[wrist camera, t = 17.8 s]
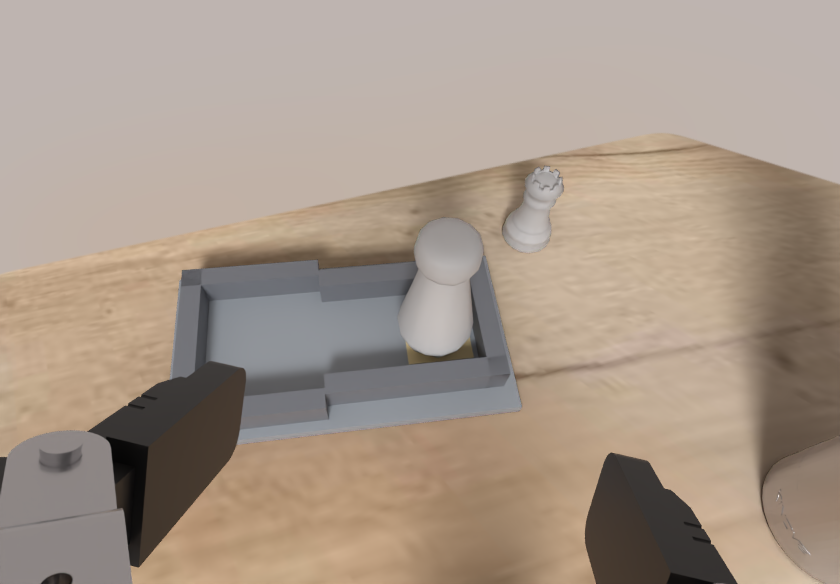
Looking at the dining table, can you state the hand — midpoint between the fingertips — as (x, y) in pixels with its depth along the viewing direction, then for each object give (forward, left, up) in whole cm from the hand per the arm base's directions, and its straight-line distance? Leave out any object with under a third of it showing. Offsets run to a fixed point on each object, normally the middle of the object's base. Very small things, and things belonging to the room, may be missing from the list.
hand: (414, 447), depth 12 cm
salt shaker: (-5, -16, -28) cm, 32 cm away
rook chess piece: (-16, -26, -29) cm, 42 cm away
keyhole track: (+2, -16, -29) cm, 33 cm away
